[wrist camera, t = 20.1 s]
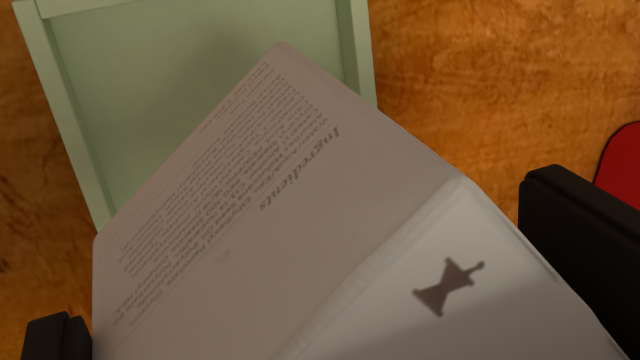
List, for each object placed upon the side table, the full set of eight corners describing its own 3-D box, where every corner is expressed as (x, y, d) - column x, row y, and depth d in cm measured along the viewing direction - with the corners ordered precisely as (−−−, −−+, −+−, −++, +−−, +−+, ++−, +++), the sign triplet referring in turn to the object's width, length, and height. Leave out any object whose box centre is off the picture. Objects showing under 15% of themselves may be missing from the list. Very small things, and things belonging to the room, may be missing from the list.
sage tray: (120, 268, 22) (122, 299, 20) (19, -7, 17) (9, 2, 15) (368, 196, 24) (388, 218, 22) (339, -65, 19) (361, -63, 18)
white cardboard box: (87, 236, 12) (65, 572, 6) (281, 30, 12) (473, 166, 6) (277, 354, 16) (393, 658, 9) (438, 194, 15) (676, 401, 9)
